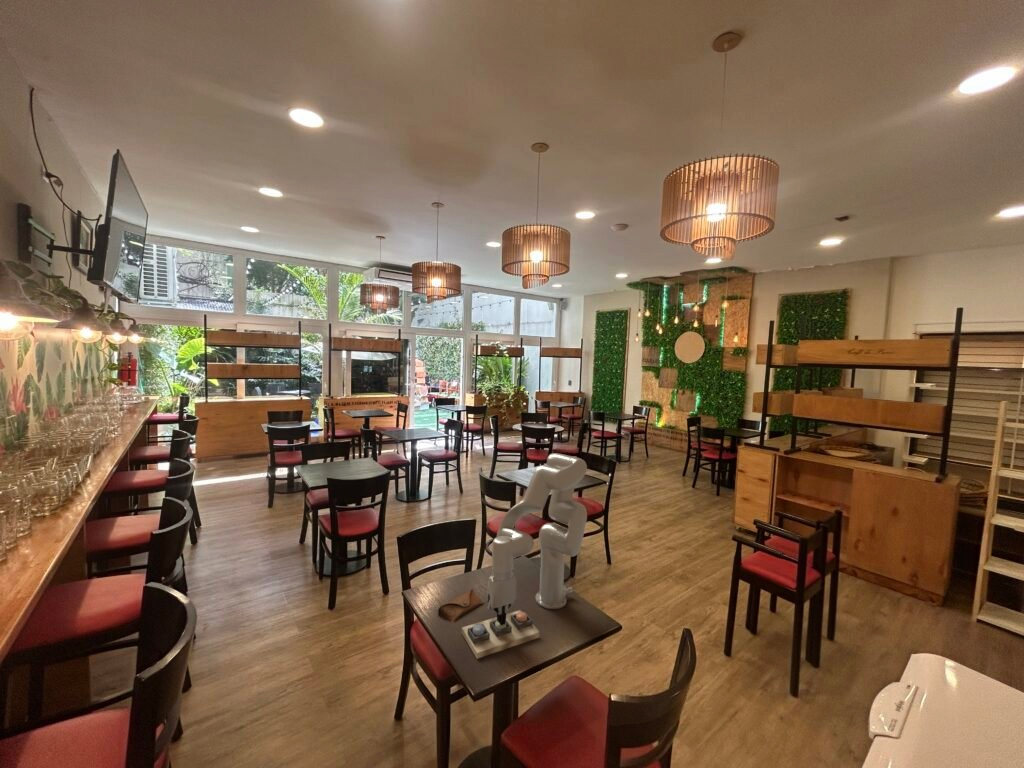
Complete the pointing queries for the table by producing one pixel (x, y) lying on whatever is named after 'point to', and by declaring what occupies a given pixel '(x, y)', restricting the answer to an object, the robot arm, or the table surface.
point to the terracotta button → (521, 617)
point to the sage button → (499, 625)
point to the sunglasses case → (460, 606)
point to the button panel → (500, 635)
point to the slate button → (478, 630)
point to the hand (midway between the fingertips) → (501, 622)
